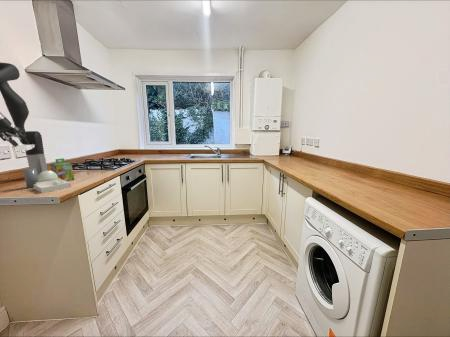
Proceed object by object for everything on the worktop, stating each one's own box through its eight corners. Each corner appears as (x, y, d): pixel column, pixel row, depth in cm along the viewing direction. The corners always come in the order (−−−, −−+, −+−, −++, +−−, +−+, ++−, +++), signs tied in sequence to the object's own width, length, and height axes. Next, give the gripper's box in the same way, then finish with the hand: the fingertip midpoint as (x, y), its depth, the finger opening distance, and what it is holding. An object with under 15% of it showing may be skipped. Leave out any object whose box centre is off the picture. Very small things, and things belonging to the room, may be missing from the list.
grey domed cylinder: (26, 187, 116) (21, 169, 114) (38, 185, 120) (34, 167, 118) (28, 188, 113) (24, 170, 111) (40, 186, 117) (36, 168, 115)
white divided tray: (34, 189, 112) (30, 172, 110) (62, 183, 123) (59, 168, 121) (42, 193, 104) (38, 175, 102) (71, 187, 115) (68, 170, 113)
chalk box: (58, 182, 125) (53, 160, 122) (53, 181, 130) (48, 159, 127) (75, 179, 133) (71, 158, 130) (69, 178, 138) (66, 157, 135)
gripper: (12, 114, 103) (37, 139, 113) (-7, 118, 106) (18, 143, 116) (-1, 120, 98) (26, 146, 108) (-22, 124, 100) (7, 150, 111)
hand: (22, 144), depth 112 cm, fingers open, 8 cm apart
